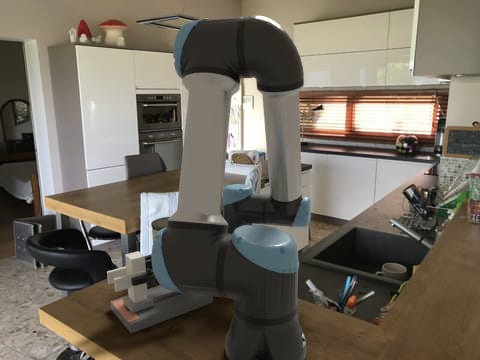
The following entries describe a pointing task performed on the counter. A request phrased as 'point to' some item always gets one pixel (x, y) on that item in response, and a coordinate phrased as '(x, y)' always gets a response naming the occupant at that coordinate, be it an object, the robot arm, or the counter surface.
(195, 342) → the counter surface
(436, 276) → the counter surface
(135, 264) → the handle
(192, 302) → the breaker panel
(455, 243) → the counter surface
